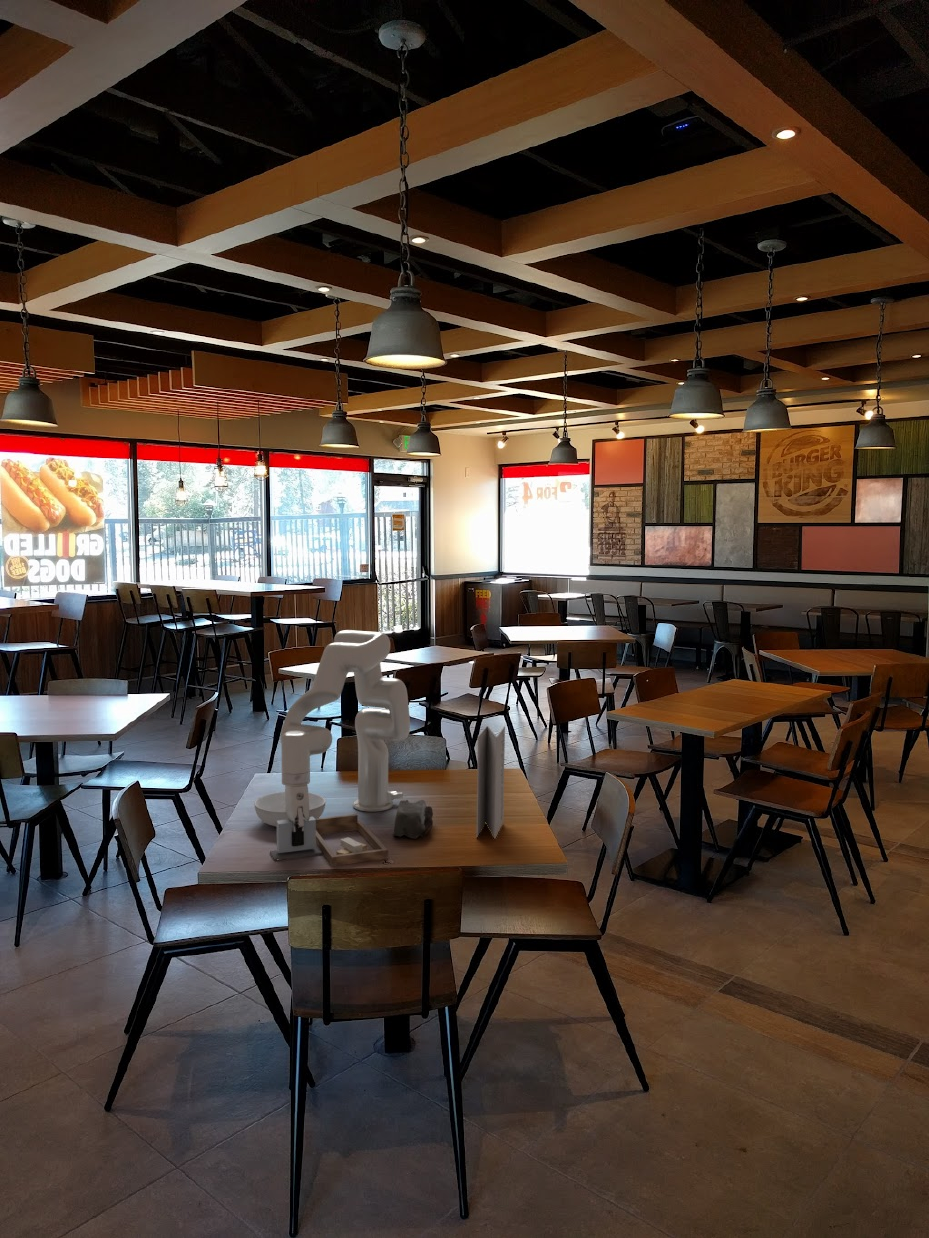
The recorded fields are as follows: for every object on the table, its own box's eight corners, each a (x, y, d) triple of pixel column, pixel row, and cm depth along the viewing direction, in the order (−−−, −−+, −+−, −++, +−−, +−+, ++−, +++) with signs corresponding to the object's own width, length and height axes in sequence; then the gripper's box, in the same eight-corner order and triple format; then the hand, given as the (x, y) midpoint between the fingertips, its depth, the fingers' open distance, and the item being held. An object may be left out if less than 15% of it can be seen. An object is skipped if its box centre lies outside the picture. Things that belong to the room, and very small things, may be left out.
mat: (317, 847, 252) (317, 845, 252) (322, 854, 246) (322, 852, 246) (270, 853, 247) (270, 851, 246) (274, 860, 241) (274, 858, 241)
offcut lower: (358, 849, 252) (358, 842, 251) (367, 852, 250) (367, 844, 250) (336, 859, 244) (336, 851, 244) (344, 861, 243) (344, 853, 242)
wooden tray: (360, 828, 268) (360, 813, 267) (388, 858, 244) (388, 842, 243) (308, 834, 262) (308, 819, 261) (332, 866, 238) (332, 849, 237)
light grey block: (313, 844, 250) (313, 816, 249) (315, 848, 247) (315, 819, 246) (276, 849, 246) (276, 820, 245) (279, 853, 243) (278, 824, 242)
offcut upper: (340, 845, 248) (340, 839, 248) (348, 843, 250) (348, 837, 250) (354, 853, 243) (354, 846, 243) (362, 851, 245) (362, 844, 244)
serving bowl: (330, 831, 265) (330, 808, 264) (256, 837, 259) (256, 814, 258) (320, 810, 285) (320, 788, 284) (252, 815, 279) (252, 793, 278)
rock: (431, 843, 256) (431, 816, 255) (391, 842, 256) (391, 815, 255) (433, 822, 274) (434, 797, 274) (396, 822, 274) (396, 796, 274)
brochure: (495, 840, 259) (497, 737, 256) (476, 838, 260) (477, 736, 257) (503, 824, 273) (504, 726, 270) (485, 822, 274) (486, 725, 271)
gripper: (316, 783, 238) (317, 851, 240) (302, 768, 253) (303, 832, 255) (288, 786, 235) (288, 855, 237) (275, 770, 250) (276, 835, 252)
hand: (296, 842), depth 246 cm, fingers closed on light grey block, 3 cm apart
